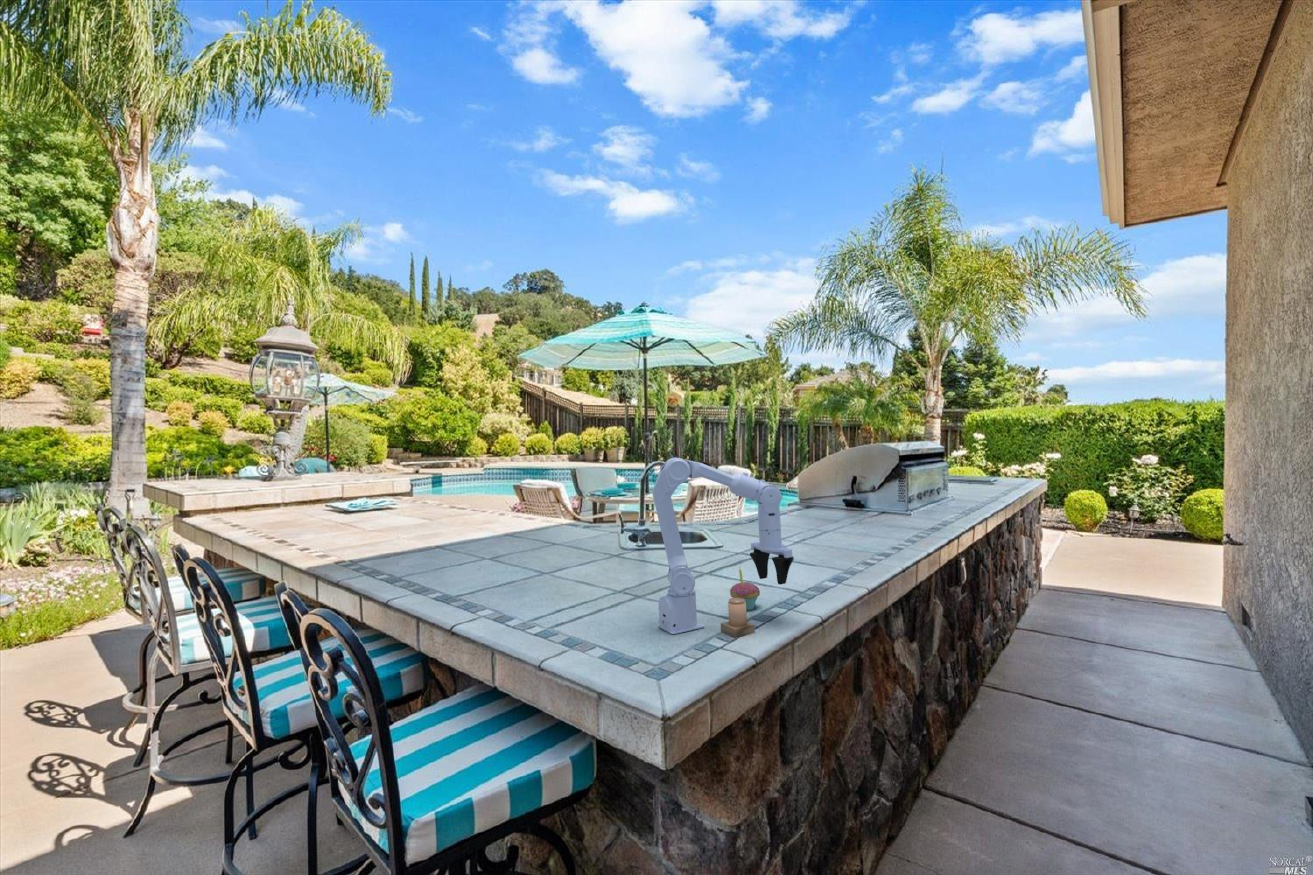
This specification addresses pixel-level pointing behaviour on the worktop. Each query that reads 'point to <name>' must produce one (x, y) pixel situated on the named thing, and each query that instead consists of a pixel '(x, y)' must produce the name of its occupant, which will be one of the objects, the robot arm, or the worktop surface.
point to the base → (737, 629)
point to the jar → (737, 612)
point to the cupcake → (745, 592)
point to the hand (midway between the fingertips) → (772, 580)
